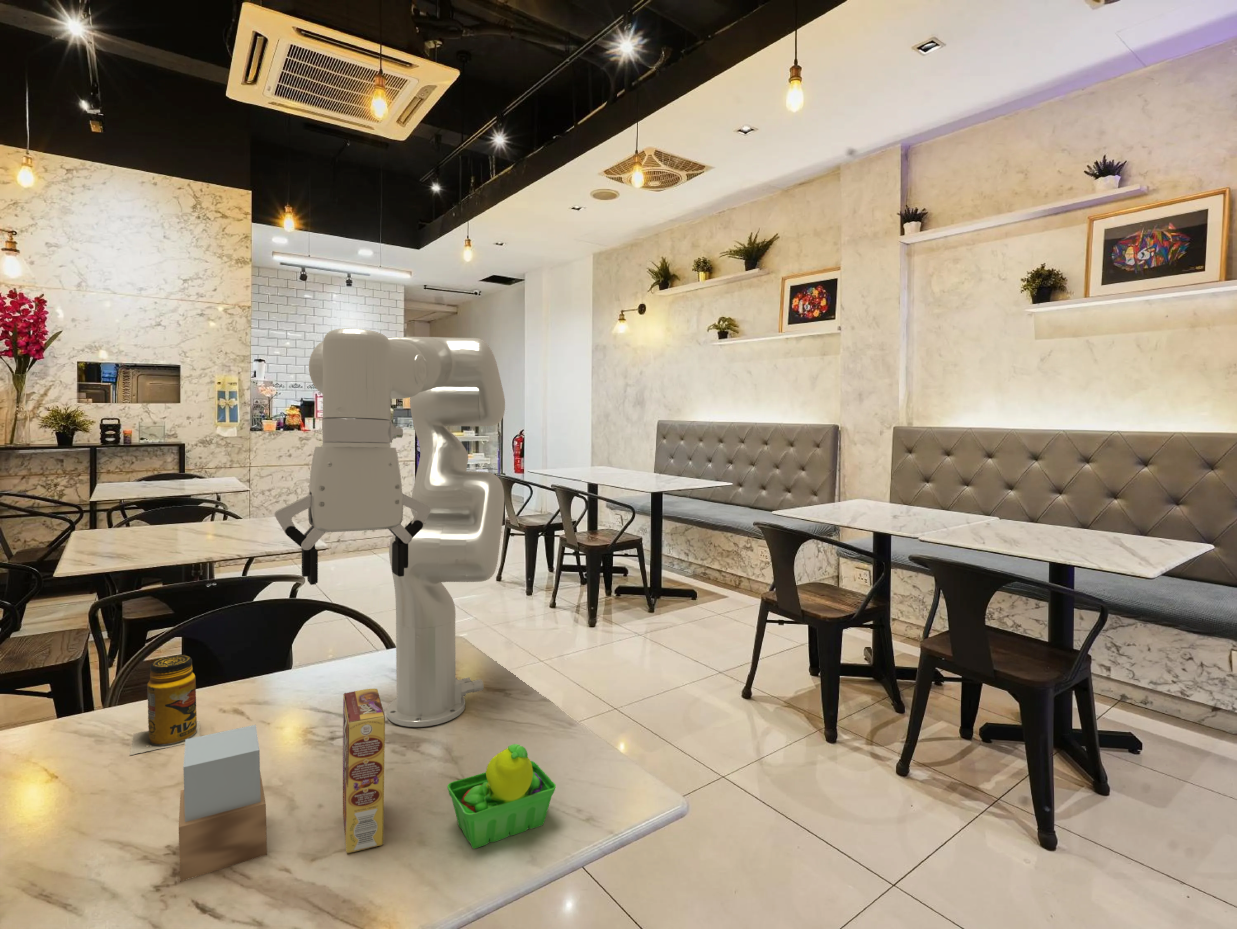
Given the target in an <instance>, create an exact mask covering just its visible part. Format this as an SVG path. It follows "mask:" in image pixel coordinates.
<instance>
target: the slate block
mask: <svg viewBox="0 0 1237 929" xmlns="http://www.w3.org/2000/svg"><path fill="white" fill-rule="evenodd" d="M258 737H259V736H258V731H257V725H256V724H252V725H247V726H244V727H243V726H242V727H239V728H234V729H233V728H232V729H228V730H224V731H220V732H214V733H210V734H205V735H200V736H199V737H195V738H190V739H186V740H185V744H184V753H183V754H184V756H183V768H182V769H183V790H184V804H185V822H188V821H191V820H195V819H199V818H203V817H206V816H210V815H214V814H218V813H221V812H225V811H229V810H233V809H236V808H240V807H244V806H248V805H251V804H255V803H259V802H261V795H260V773H261V763H260V760H261V758H260V757H261V756H260V744H259V738H258Z"/></svg>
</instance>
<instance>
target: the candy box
mask: <svg viewBox="0 0 1237 929" xmlns="http://www.w3.org/2000/svg"><path fill="white" fill-rule="evenodd" d="M342 703H343V704H342V705H343V706H342V707H343V709H342V714H343V715H342V718H343V719H342V725H343V726H342V819H343V827H344V828H343V829H344V830H343V831H344V836H345V839H344V841H345V851H346V852H345V853H346V854H352V853H355V852H358V851H363V850H367V849H372V848H376V847H381V846H383V845H384V823H385V822H384V817H385V816H384V814H385V813H384V811H385V810H384V809H385V752H386V750H385V748H386V746H385V744H386V743H385V742H386V741H385V740H386V716H385V711H384V707H383V705H382V701H381V697H380V693H379V691H378V688H365V689H359V690H354V691H349V692H345V693H343V702H342Z"/></svg>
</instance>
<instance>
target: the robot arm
mask: <svg viewBox="0 0 1237 929" xmlns="http://www.w3.org/2000/svg"><path fill="white" fill-rule="evenodd" d="M492 350H493V349H492V348H491V346H490V345H489V343H487V342H486V341H485V340H483V339H482V338H478V337H446V336H445V337H444V336H443V337H442V336H397V337H387V336H386V335H384V333H381V332H378V331H374V330H369V329H365V328H364V329H363V328H362V329H361V328H336V329H333V330H330V331H328V332H327V333H326V334H325V336H324V338H323V340H322V341H321V342H320V343H318V344H317V345H316V346H315V347H314V349H313V350H312V352H311V354H310V357H309V362H308V372H309V376H310V380H311V382H312V385H314V387H315V388H316V391H318V392H319V393H321V395H322V446H315V447H314V449H313V454H312V460H311V466H310V473H309V474H310V475H309V488H308V495H307V494H306V496H304V497H302V498H299V499H298V500H296V501H294V502H291V503H289V504H287V505H286V506H282V507H281V508H279V509H278V510H277V509H276V510H275V512H274V517H275V518H276V520H277V522H278V524H279V525H280V527H281V528H282V530H283V532H284V534H285V535H286V536H287V537H288V538H289V539H290V540H292V541H293V542H294V544H295V543H296V544H297V545H298V546H299V547H300V548H301V577H302V578H306V577H307V578H306V579H307V582H308V583H309V585H310V586H312V585H313V586H314V585H316V584H318V583H319V578H318V577H319V575H318V574H319V568H318V567H319V564H318V563H319V561H318V560H319V553H318V552H319V551H318V550H317V548H316V543H318V541H319V540H320V539H321V538H322V537H323V536H324V534H325V533H342V532H361V531H364V532H365V531H382V530H389V531H390V533H391V534H392V537H391V538H390V541H389V546H388V549H389V550H388V556H389V562H390V569H391V572H392V578H393V584H394V594H395V595H394V596H395V638H396V639H395V654H396V655H395V656H396V657H395V661H396V662H395V663H396V665H395V666H396V673H395V674H396V676H395V677H396V698H394V699H393V700H392V701H391V702H390V703H389V704H388V705H387V708H386V717H387V719H388V720H389V722H391V723H393V724H395V725H398V726H401V727H407V728H423V727H424V728H425V727H431V726H436V725H441V724H444V723H446V722H449V721H451V720H454V719H455V718H457V717H458V716H460V715H461V714H462V713H463V712H464V711H465V708H466V699H465V697H466V696H467V694H471V693H477V692H481V691H483V690H484V688H485V687H484V681H483V680H482V678H479V679H476V680H471V679H472V678H470V677H463V678H462V679H458V678H457V677H456V673H457V672H456V619H457V618H456V605H455V602H454V599H453V597H452V595H451V594H450V592H449V591H448V589H447V588H446V587H445V586H444V584H443V583H478V582H479V583H480V582H485V581H488V580H490V579H491V578H492V577H493V576H494V574H495V572H496V570H497V567H498V561H499V555H500V546H501V537H502V536H501V535H502V530H503V529H502V528H503V520H504V511H505V510H504V509H505V491H504V486H503V483H502V480H501V479H500V478H499V477H498V476H497V475H496V474H494V473H492V472H488V471H477V470H475V471H474V470H472V471H471V470H469V471H467V469H468V464H469V463H468V462H469V454H468V451H467V449H466V447H465V445H464V444H463V443H462V442H461V440H460V439H458V437H457V436H456V435H455V434H454V433H452V432H451V431H450V430H449V428H448V427H492V426H496V425H498V424H499V423H500V422H501V421H502V419H503V418H504V416H505V411H506V400H505V393H504V389H503V384H502V380H501V375H500V372H499V366H498V363H497V361H496V358H495V357H496V356H495V354H494V352H493V351H492ZM408 398H410V399H409V402H410V403H409V406H410V407H409V408H410V413H411V420H412V424H413V427H414V431H415V434H416V438H417V441H418V445H419V451H420V457H419V461H418V466H417V470H416V473H415V478H414V483H413V488H412V492H411V496H409V495H407V494H405V493H403V485H402V474H401V467H400V462H399V456H398V451H397V448H396V447H391V443H393V441H394V439H397V438H400V439H402V438H403V435H404V430H403V427H402V426H396V425H394V424H393V421H391V419H392V418H391V416H392V415H391V413H392V412H391V411H392V409H391V408H392V407H391V406H392V404H391V403H392V402H391V399H393V400H396V399H398V400H399V399H400V400H401V399H402V400H403V399H408ZM404 507H406V508H408V509H410V512H411V514H412V516H413V518H412V520H410V522H409V523H408V524H407V525H406V526H403V524H402V522H403V518H404ZM306 510H307V512H308V513H307V515H308V516H307V518H308V523H309V525H310V526H309V528H308V529H307V530H305V532H304V533H303V532H302V531H300V529H298V528H297V527H296V525H295V524H294V522H293V517H294V516H296V515H298V514H299V513H301V512H304V511H306Z"/></svg>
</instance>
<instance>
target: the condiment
mask: <svg viewBox="0 0 1237 929" xmlns="http://www.w3.org/2000/svg"><path fill="white" fill-rule="evenodd" d="M193 670H194V669H193V659H192V657H191V656H188V655H170V656H165V657H162V658H158V659H157V660H155V661H153V662H151V663H150V666H149V671H150V673H149V678H150V679H149V680H148V682H147V684H146V689H147V713H148V715H147V724H148V726H147V727H148V730H146V731H139V732H134V733H133V735H132V742H131V746H130V752H129V756H133V755H136V754H142V753H145V752H150V751H151V752H152V751H155V750H160V749H166V748H171V747H175V746H181V745H185V740H186V739H190V738H195V737H199V736H201V735H200V734H201V731H200V729H201V728H200V726H201V725H200V722H201V721H200V720H197V714H198V713H197V689H196V688H197V685H196V683H197V682H196V680H197V679H196V675H195V673H194V672H193Z"/></svg>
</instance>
